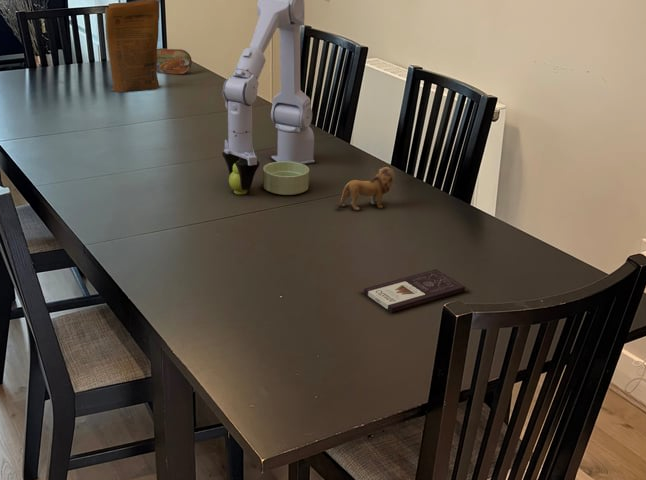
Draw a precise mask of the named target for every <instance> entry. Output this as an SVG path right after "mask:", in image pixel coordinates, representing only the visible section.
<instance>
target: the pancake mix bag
mask: <svg viewBox="0 0 646 480" xmlns="http://www.w3.org/2000/svg"><path fill="white" fill-rule="evenodd" d="M104 20H105V21H104V22H105V41H106V46H107V47H106V48H107V53H108V59H109V67H110V72H111V77H112V82H113V83H112V91H113V92H119V93H127V92H128V93H129V92H138V91H139V92H140V91H148V90H157V89H158V88H159V87H160V84H159V79H158V72H157V49H158V43H159V42H158V41H159V34H160V33H159V25H160V23H159V22H160V1H159V0H133V1H128V2H112V3H108V7H106V6H105V9H104Z"/></svg>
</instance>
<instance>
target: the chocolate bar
mask: <svg viewBox="0 0 646 480" xmlns="http://www.w3.org/2000/svg"><path fill="white" fill-rule="evenodd" d="M465 291H466V286H465V285H463V284H461V283H460V282H458V281H456V280H454V279H453V278H451V277H450V276H448V275H446V274H445V273H443V272H441V271H439V270H438V269H431V270H428V271H427V270H426V271H424V272H420V273H417V274H412V275H410V276H405V277H402V278H398V279H395V280H391V281H387V282H383V283H379V284H376V285H372V286H369V287H364V289H363V294H365V295H366V296H368V297H369V298H371V299H372V300H373V301H375V302H376V303H378V304H379V305H381V306H382V307H383V308H385V309H386V310H388V311H389V312H390V313H395V312H399V311H402V310H406V309H409V308H412V307H416V306H419V305H423V304H425V303H430V302H433V301H436V300H439V299H443V298H447V297H450V296H453V295H456V294H461V293H464V292H465Z"/></svg>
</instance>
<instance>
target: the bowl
mask: <svg viewBox="0 0 646 480" xmlns="http://www.w3.org/2000/svg"><path fill="white" fill-rule="evenodd" d="M310 172H311V171H310V168H309V166H307V164H301V163H297V162H289V161H280V162H277V161H273V162H268V163H267V164H265V165H264V166H263V167H262V187H263V189H264V190H266V191H267V192H270V193H272V194H276V195H280V196H293V195H299V194H302V193H304V192H306V191H308V190H309V188H310Z"/></svg>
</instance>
